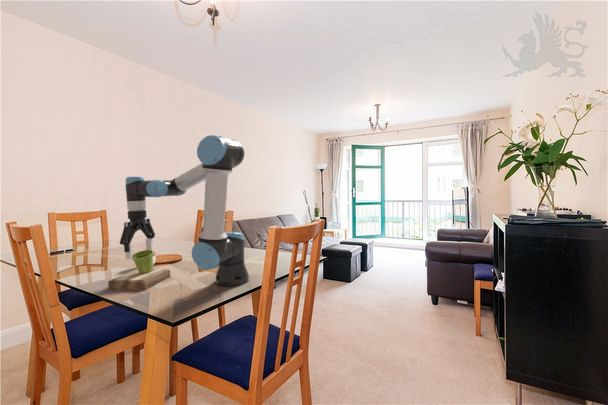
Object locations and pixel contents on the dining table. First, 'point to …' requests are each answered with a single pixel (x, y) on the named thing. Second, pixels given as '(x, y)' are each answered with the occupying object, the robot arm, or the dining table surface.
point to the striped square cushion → (139, 279)
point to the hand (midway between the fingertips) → (139, 255)
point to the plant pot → (143, 260)
